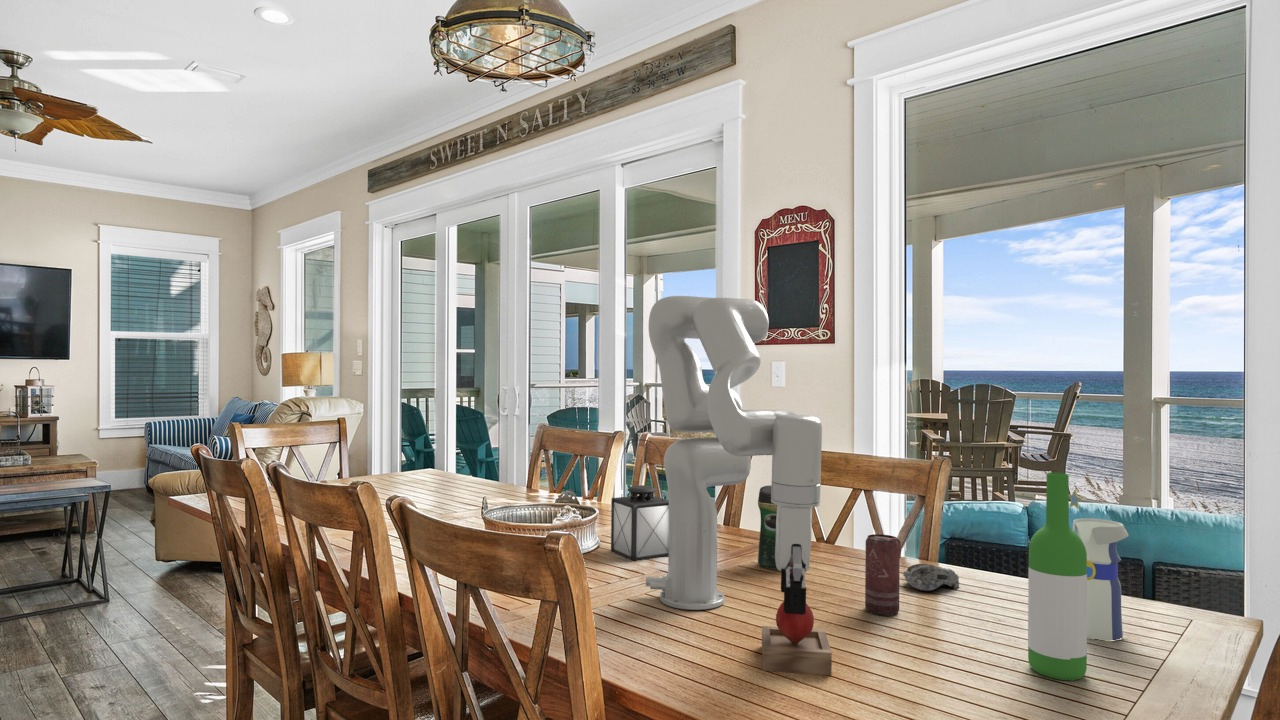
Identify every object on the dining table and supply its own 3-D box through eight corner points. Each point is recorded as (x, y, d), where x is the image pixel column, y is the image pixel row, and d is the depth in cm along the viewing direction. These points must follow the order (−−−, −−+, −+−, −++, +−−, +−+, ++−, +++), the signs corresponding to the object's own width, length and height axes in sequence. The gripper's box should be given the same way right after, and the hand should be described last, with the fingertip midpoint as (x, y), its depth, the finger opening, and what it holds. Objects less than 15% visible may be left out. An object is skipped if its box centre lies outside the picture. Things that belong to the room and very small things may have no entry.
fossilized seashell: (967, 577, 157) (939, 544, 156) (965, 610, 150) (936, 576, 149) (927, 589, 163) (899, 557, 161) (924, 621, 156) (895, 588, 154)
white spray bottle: (1108, 645, 123) (1109, 495, 124) (1059, 629, 131) (1059, 487, 131) (1137, 638, 127) (1137, 492, 128) (1087, 622, 135) (1087, 484, 135)
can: (902, 617, 136) (903, 541, 137) (866, 615, 138) (867, 539, 138) (898, 607, 142) (898, 534, 143) (863, 605, 144) (864, 532, 144)
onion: (771, 636, 119) (772, 586, 119) (807, 636, 119) (807, 586, 119) (781, 650, 113) (781, 597, 113) (818, 650, 113) (818, 597, 113)
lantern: (610, 551, 184) (611, 438, 184) (649, 546, 190) (649, 436, 190) (632, 562, 174) (633, 442, 174) (672, 556, 180) (673, 440, 180)
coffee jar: (804, 565, 172) (805, 485, 173) (794, 573, 165) (795, 490, 166) (764, 560, 177) (765, 482, 177) (753, 567, 170) (754, 486, 170)
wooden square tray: (763, 670, 112) (763, 648, 112) (761, 646, 121) (762, 625, 122) (831, 675, 110) (831, 652, 110) (824, 650, 120) (824, 629, 120)
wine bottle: (1099, 680, 109) (1100, 476, 110) (1054, 684, 108) (1054, 477, 108) (1059, 660, 117) (1060, 469, 117) (1016, 663, 115) (1017, 470, 116)
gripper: (769, 483, 125) (766, 583, 126) (773, 503, 108) (770, 620, 109) (815, 485, 124) (812, 586, 125) (825, 506, 107) (822, 624, 108)
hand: (792, 602), depth 117 cm, fingers open, 9 cm apart
